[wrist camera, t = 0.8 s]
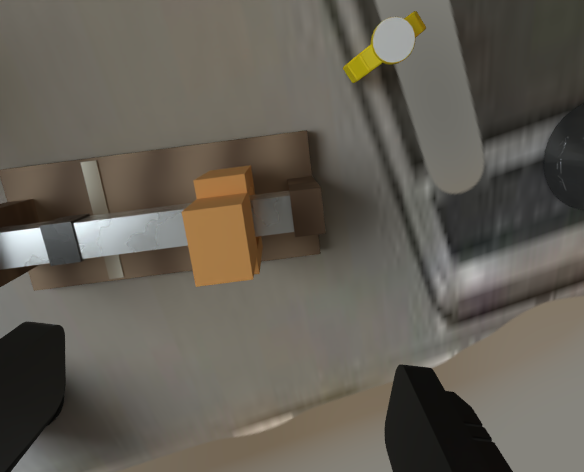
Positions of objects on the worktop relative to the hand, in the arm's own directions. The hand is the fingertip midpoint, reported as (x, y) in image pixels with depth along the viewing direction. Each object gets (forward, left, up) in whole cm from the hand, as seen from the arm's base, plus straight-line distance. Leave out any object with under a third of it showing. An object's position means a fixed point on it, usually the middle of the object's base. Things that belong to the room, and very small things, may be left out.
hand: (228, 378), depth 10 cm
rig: (+8, 0, -26) cm, 27 cm away
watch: (-10, -10, -26) cm, 30 cm away
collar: (+2, 0, -22) cm, 22 cm away
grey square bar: (+8, 0, -20) cm, 22 cm away
